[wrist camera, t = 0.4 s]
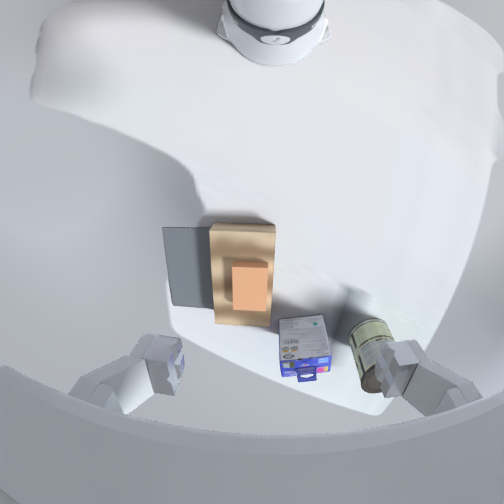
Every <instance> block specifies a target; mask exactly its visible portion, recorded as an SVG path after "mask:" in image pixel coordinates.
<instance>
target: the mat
mask: <svg viewBox="0 0 504 504" xmlns="http://www.w3.org/2000/svg"><path fill="white" fill-rule="evenodd" d="M210 229H211V228H189V227H187V228H185V227H163V228H162V230H163V238H164V246H165V255H166V262H167V269H168V276H169V283H170V289H171V295H172V301H173V306H184V307H196V308H209V309H214V300H213V286H212V271H211V254H210V234H209V231H210Z"/></svg>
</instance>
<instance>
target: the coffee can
mask: <svg viewBox="0 0 504 504" xmlns="http://www.w3.org/2000/svg"><path fill="white" fill-rule="evenodd" d="M388 342H395V341H394V339H393V337H392V335H391V333H390V330H389V328H388V326H387V324H386V323H385V322H384V321H383V320H380V319H369V320H366V321H363V322H361V323H360V324H358V325H357V326H356V327H355V328H354V329H353V330H352V331H351V333H350V335H349V344H350V346H351V350H352V353H353V356H354V360H355V363H356V367H357V370H358V374H359V377H360V381H361V387H362V389H363V390H364V391H365V392H368V393H380V392H382V390H381V388H380V386H381V384H382V383H381V382H380V381H378V380H377V378H376V376H375V364H376V361H377V359H378V358H379V357H380V356H381V355H382V354H381V352H380V349H381V346H382V345H383V343H388Z"/></svg>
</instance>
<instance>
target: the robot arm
mask: <svg viewBox="0 0 504 504" xmlns="http://www.w3.org/2000/svg"><path fill="white" fill-rule="evenodd" d="M222 9H223V10H222V14H221V17H220V20H219V24H218V27H217V34H218V35H219V36H220V37H221V38H223V39H225V40H227V41H229V42H231V43H232V44H233V45H234V46H235V48H236V49H237V50H238V51H239V52H240V53H241V54H242V55H243V56H244V57H246V58H247V59H249V60H251V61H253V62H255V63H258V64H261V65H265V66H287V65H291V64H294V63H296V62H299V61H300V60H302V59H304V58H305V57H306V56H308V55H309V54H310V53H311V51H312V50H313V49H314V48H315V47H316V46H317V45H319V44H321V43H324V42H326V41H328V40H329V39H330V37H331V32H330V28H329V25H328V20H327V18H326V14H325V11H324V0H226V1H225V2H223V3H222ZM223 25H224V26H223ZM181 348H182V342H181V339H180V338H176V337H169V336H163V335H155V334H149V333H145V334H143V335H142V337H141V338H140V340H139V341H138V343H137V344H136V346H135V347H134V349H133V351H132V352H131V354H130V355H129V356H124V357H122V358H120V359H118V360H115V361H113V362H111V363H109V364H107V365H105V366H103V367H101V368H98V369H96V370H94V371H92V372H90V373H88V374H85V375H83V376H81V377H80V378H79V380H78V381H77V383H76V384H75V385H74V387H73V388H72V389H71V391H70V392H69V394H68V395H67V394H65V393H62V392H60V391H58V390H55V389H53V388H51V387H48V386H46V385H44V384H42V383H40V382H37V381H35V380H33V379H31V378H29V377H27V376H25V375H23V374H21V373H20V372H18V371H16V370H14V369H13V368H11V367H9V366H5V365H2V366H0V504H504V389H503V390H501V391H498V392H496V393H494V394H491V395H489V396H486V397H484V398H483V397H482V395H481V394H480V393H479V391H478V389H477V388H476V387H475V385H474V384H473V382H472V381H470V380H467V379H466V378H464V377H462V376H460V375H458V374H456V373H455V372H453V371H451V370H449V369H447V368H445V367H443V366H442V365H440V364H438V363H436V362H434V361H430V360H429V359H428V357H427V355H426V354H425V352H424V351H423V349H422V348H421V347H420V345H419V344H418V342H417V341H416V340H406V341H400V342H388V343H383V345H382V346H381V349H380V352H381V354H382V355H381V356H380V357H379V358H378V359H377V361H376V364H375V376H376V378H377V380H378V381H380V382H381V383H382V384H381V386H380V388H381V390H382V393H383V395H384V398H390V397H398V396H402V397H403V398H404V399H405V400H406V401H408V402H409V403H410V404H411V405H412V406H414V407H415V408H416V409H417V410H418V411H419V412H421V413H422V414H423V415H424V416H425V417H423V418H419V419H415V420H411V421H407V422H403V423H398V424H393V425H387V426H382V427H376V428H370V429H363V430H355V431H347V432H337V433H326V434H307V435H257V434H256V435H255V434H240V433H227V432H218V431H217V432H216V431H209V430H201V429H194V428H187V427H181V426H175V425H171V424H165V423H160V422H156V421H151V420H147V419H143V418H139V417H135V416H131V415H127V414H128V413H129V412H131V411H132V410H134V409H135V408H136V407H137V406H139V405H140V404H141V403H143V402H144V401H145V400H147V399H148V398H149V397H150V396H152V395H153V394H154V393H160V394H166V395H173V396H174V395H175V393H176V390H177V388H178V385H179V383H178V378H180V377H181V376H182V374H183V369H184V355H183V354H182V353H181V352H180V351H181Z"/></svg>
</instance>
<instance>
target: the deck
mask: <svg viewBox="0 0 504 504" xmlns="http://www.w3.org/2000/svg"><path fill="white" fill-rule="evenodd" d="M209 234H210V254H211V271H212V286H213V300H214V313H215V324H225V325H241V326H261V327H270V317H271V303H272V288H273V271H274V254H275V236H276V231H275V225H266V224H236V223H213V225H212V227H211V229H210V231H209ZM233 261H240V262H264V263H268V281H267V300H266V311H249V310H233V285H232V265H233Z"/></svg>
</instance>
